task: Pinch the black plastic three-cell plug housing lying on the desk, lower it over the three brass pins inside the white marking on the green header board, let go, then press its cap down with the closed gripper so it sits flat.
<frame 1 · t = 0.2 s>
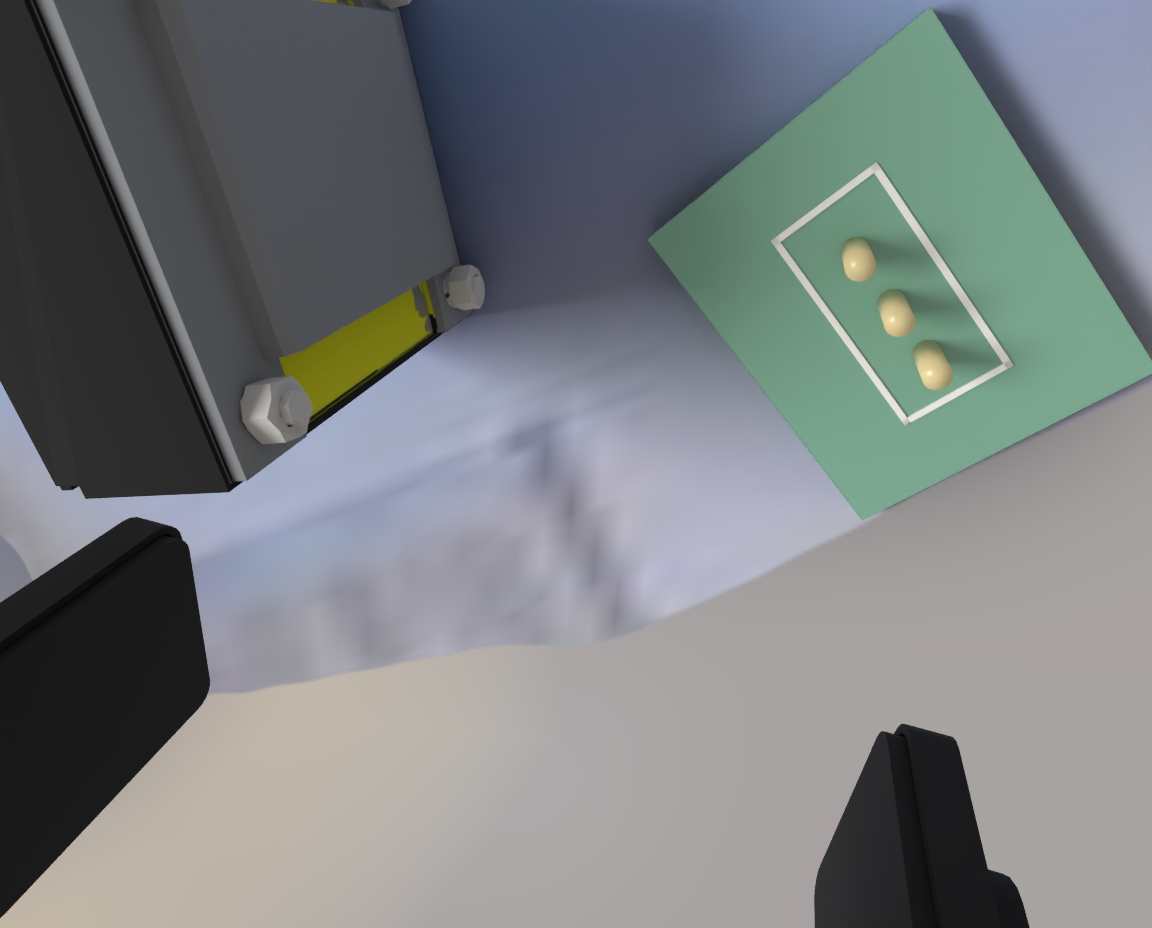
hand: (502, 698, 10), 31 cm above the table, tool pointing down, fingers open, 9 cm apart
electrical component: (373, 156, 39), on the table
header board: (887, 293, 35), on the table
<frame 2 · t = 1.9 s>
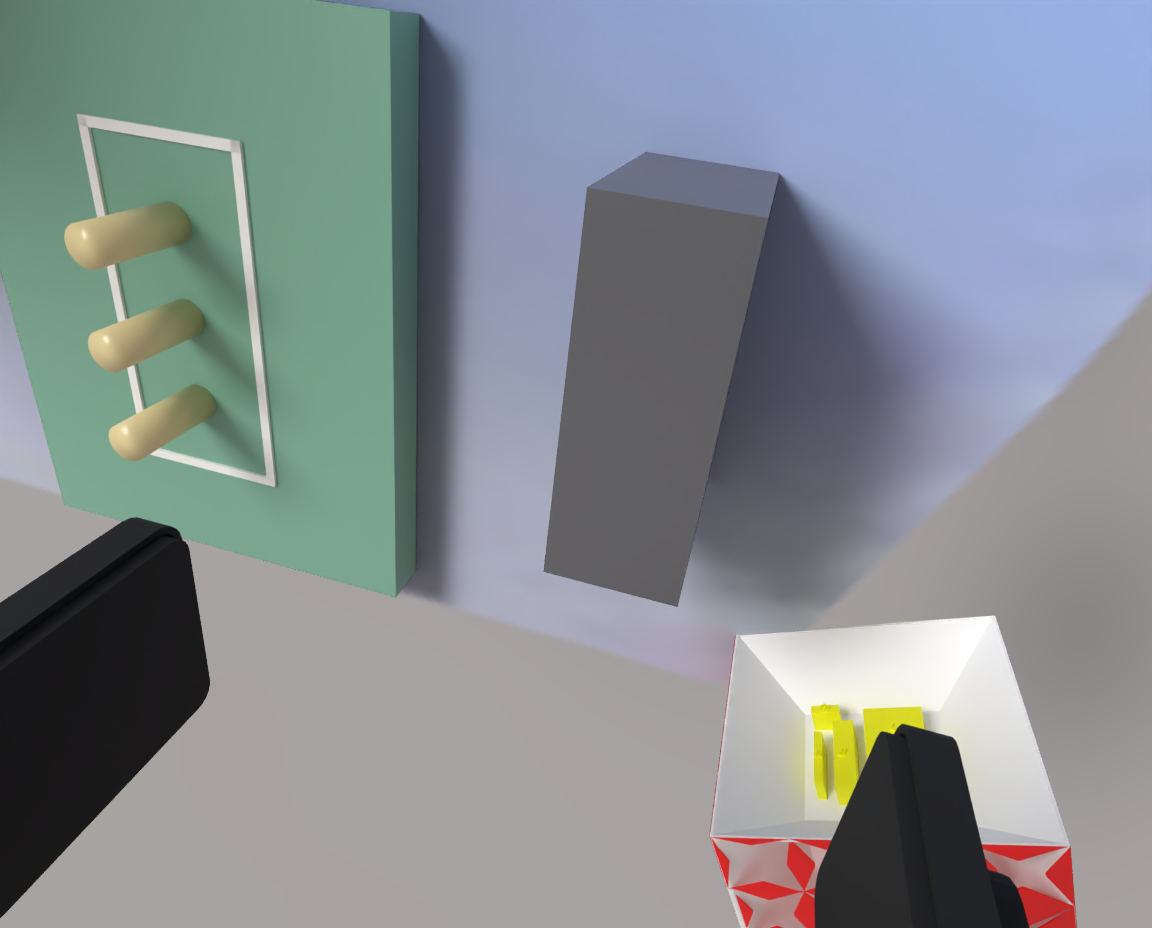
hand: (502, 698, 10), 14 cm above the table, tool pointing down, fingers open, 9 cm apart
plug housing: (678, 334, 21), on the table
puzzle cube: (874, 712, 26), on the table
header board: (221, 303, 25), on the table
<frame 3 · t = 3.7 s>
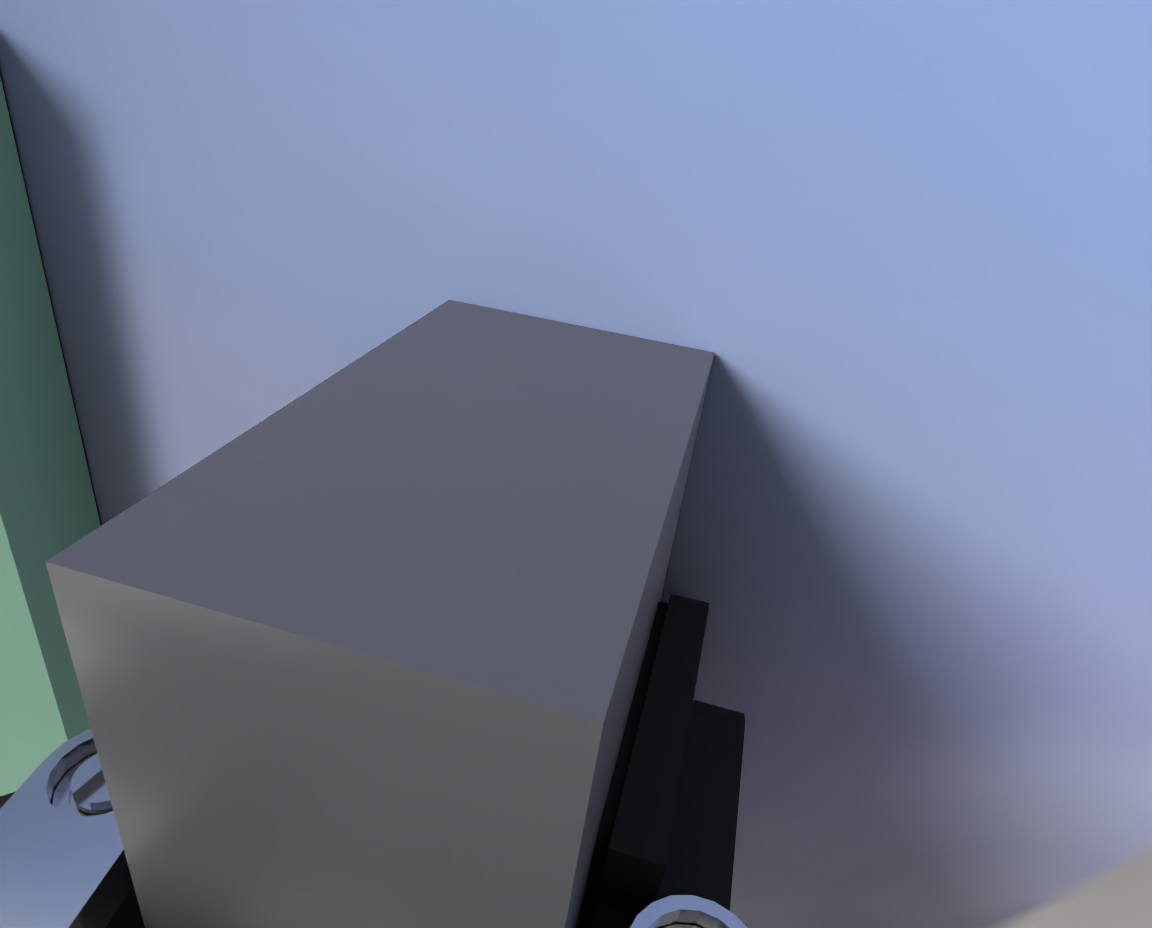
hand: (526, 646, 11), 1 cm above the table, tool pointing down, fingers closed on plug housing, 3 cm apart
plug housing: (542, 614, 12), on the table, touching gripper
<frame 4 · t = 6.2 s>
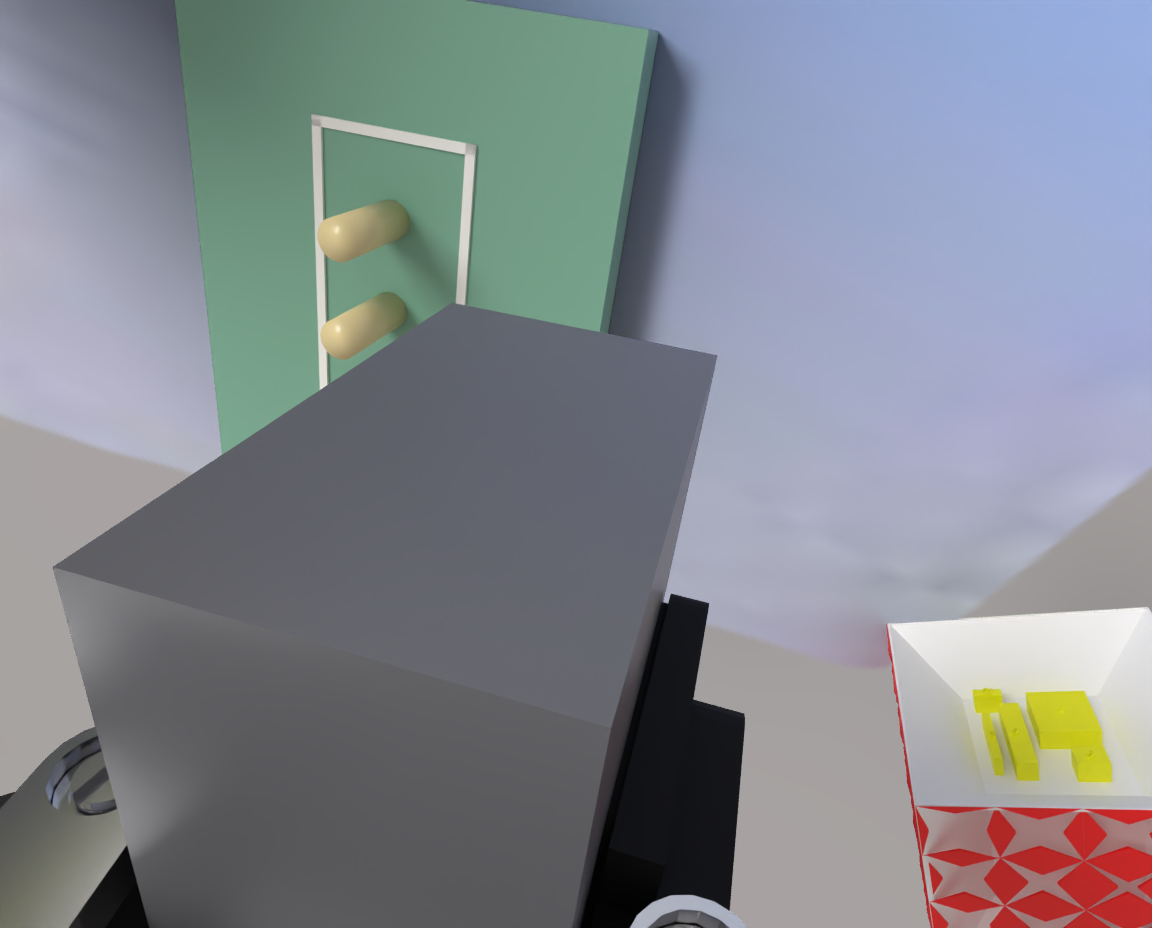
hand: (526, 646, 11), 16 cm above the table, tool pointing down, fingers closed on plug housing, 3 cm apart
plug housing: (544, 616, 12), point 15 cm above the table, touching gripper
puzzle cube: (1014, 698, 28), on the table
header board: (411, 297, 26), on the table
when the fingers open (3 cm above the table, at t = 8.9 s): plug housing stays where it is, resting on header board.
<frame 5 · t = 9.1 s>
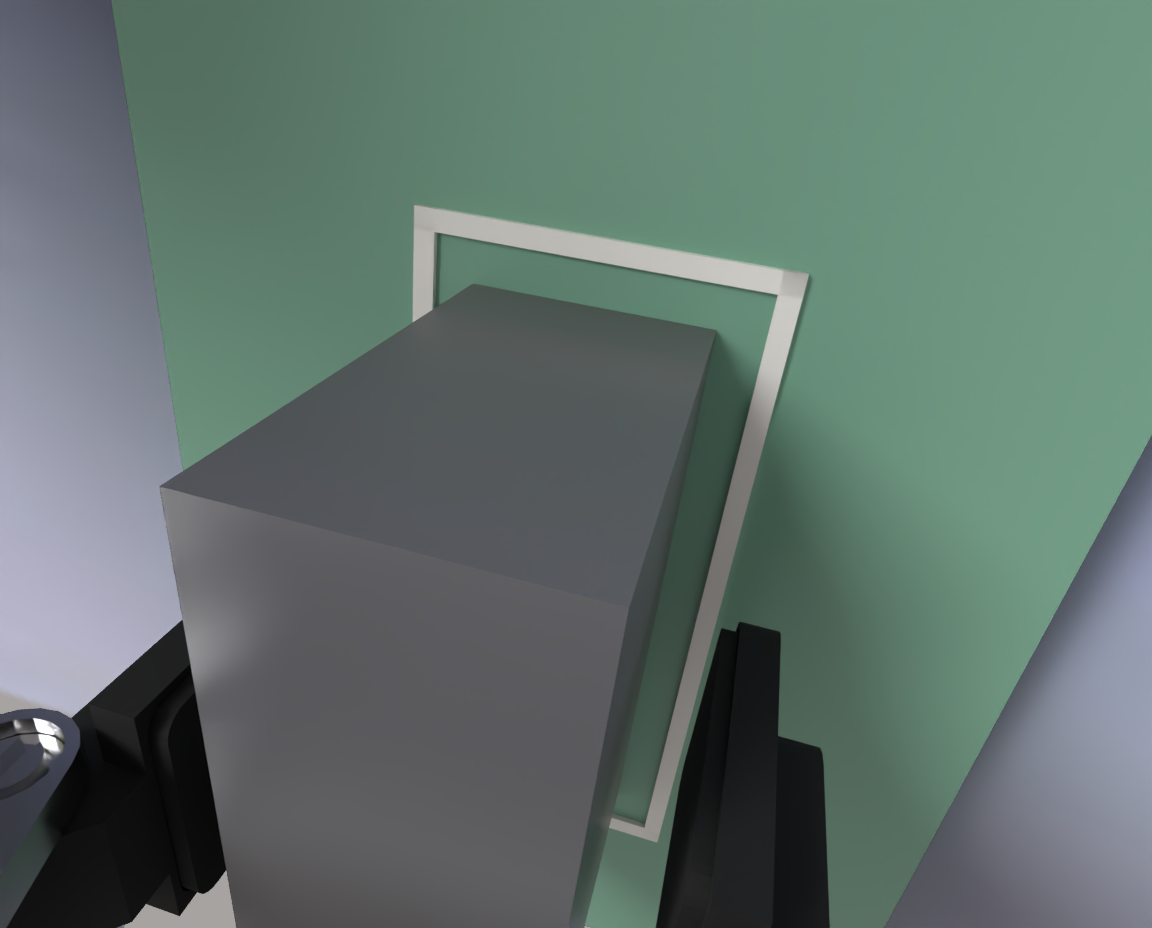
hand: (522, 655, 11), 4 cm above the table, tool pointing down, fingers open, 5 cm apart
plug housing: (556, 578, 12), point 2 cm above the table, touching header board
header board: (582, 527, 14), on the table
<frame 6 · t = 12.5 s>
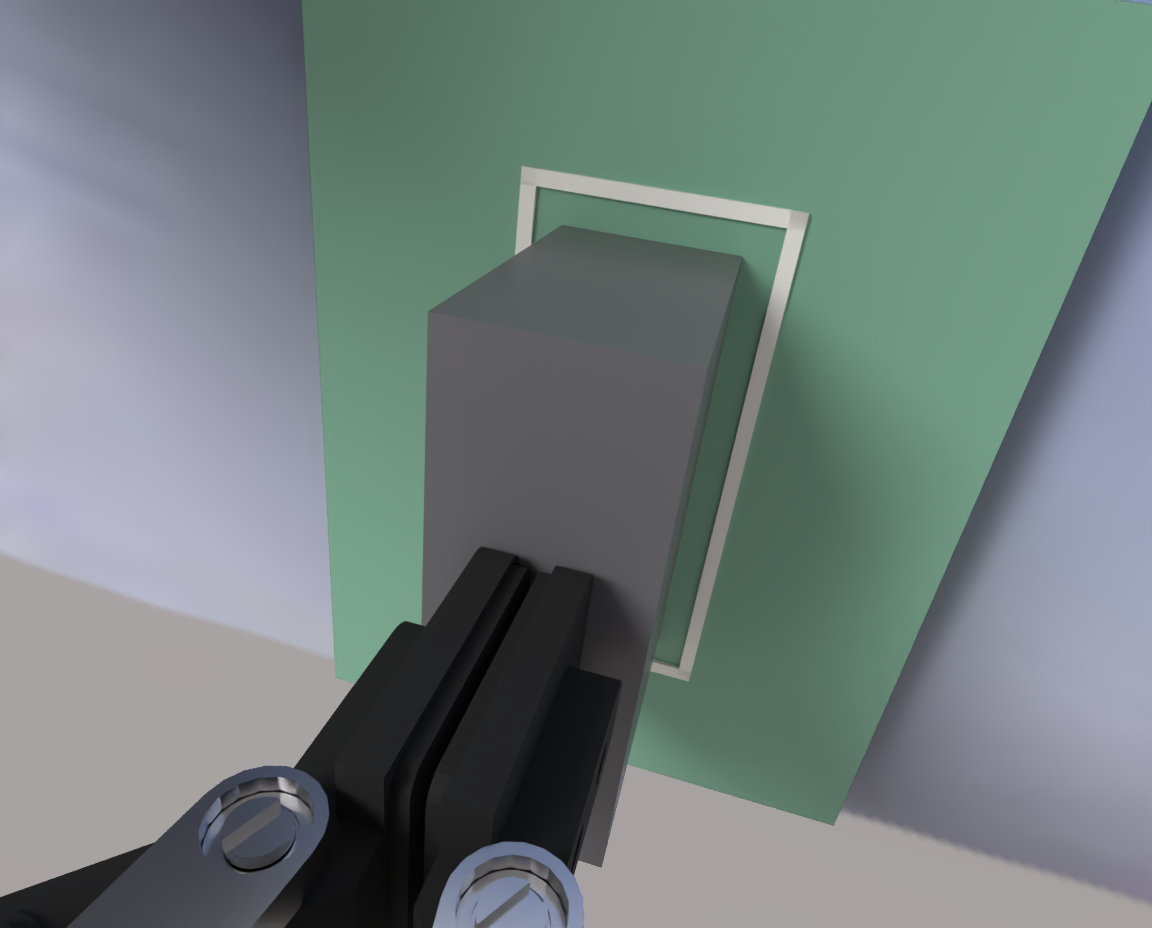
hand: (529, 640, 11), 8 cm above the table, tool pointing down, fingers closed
plug housing: (615, 457, 16), point 2 cm above the table, touching gripper, header board
header board: (631, 427, 18), on the table
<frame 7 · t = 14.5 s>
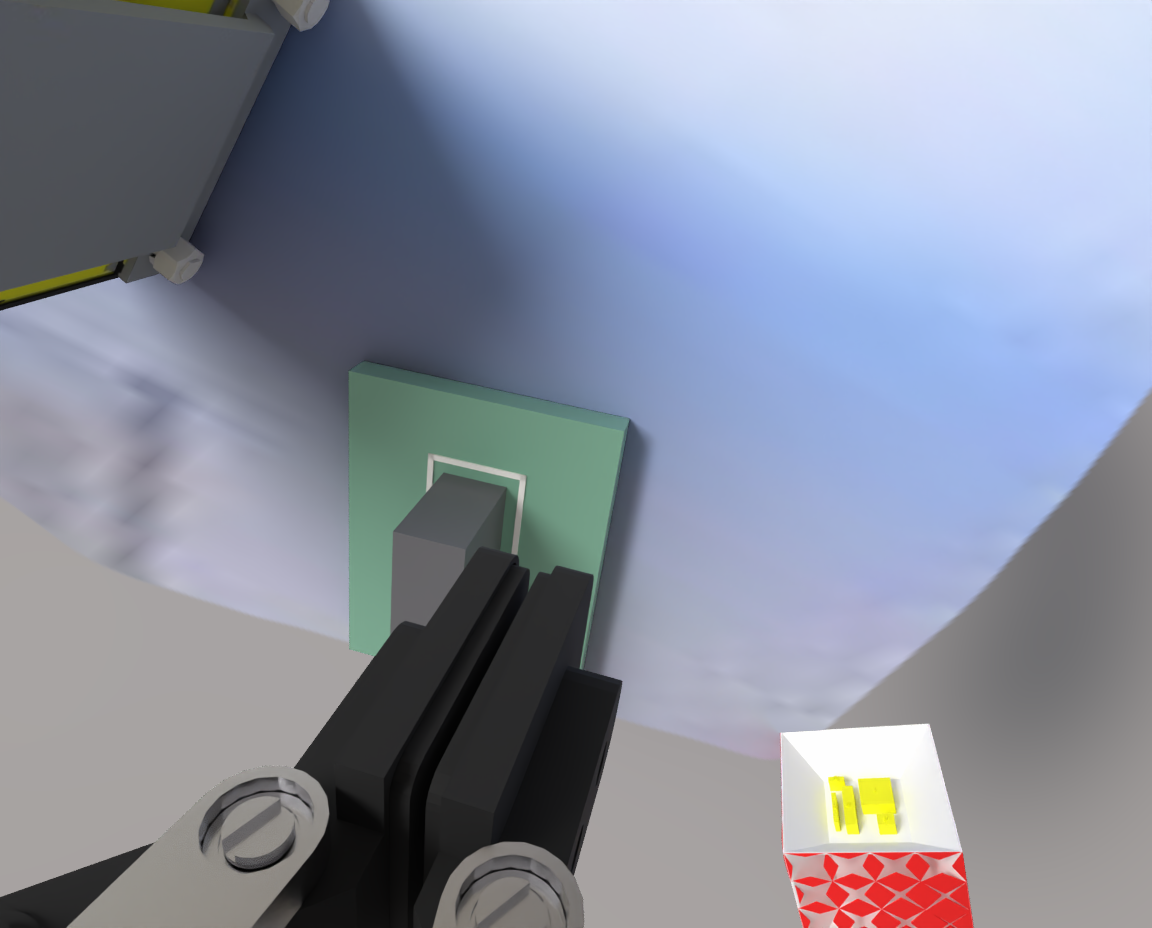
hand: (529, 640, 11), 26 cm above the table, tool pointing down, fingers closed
plug housing: (468, 554, 41), point 2 cm above the table, touching header board
electrical component: (186, 74, 35), on the table
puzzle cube: (862, 777, 44), on the table
header board: (479, 538, 42), on the table
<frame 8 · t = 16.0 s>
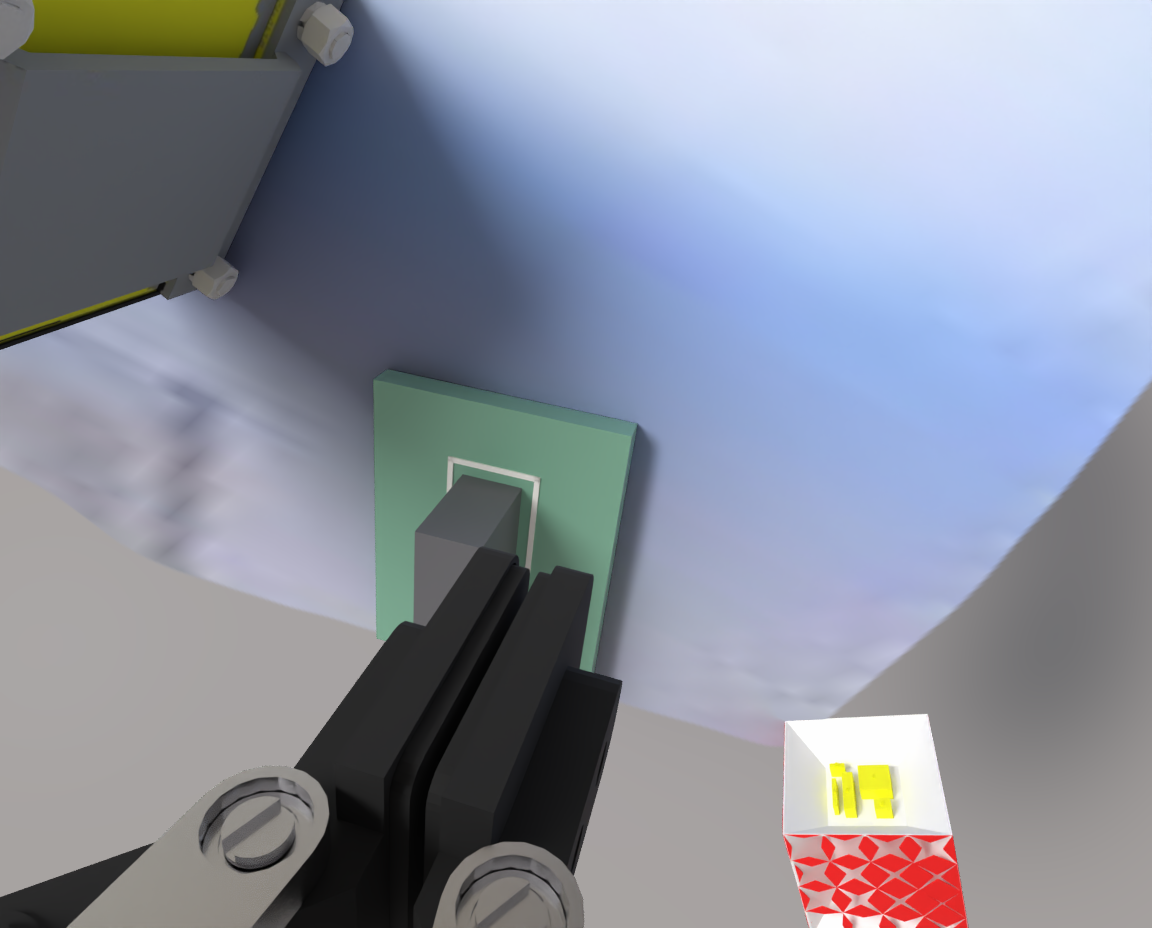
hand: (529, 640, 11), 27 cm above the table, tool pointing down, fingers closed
plug housing: (487, 550, 43), point 2 cm above the table, touching header board
electrical component: (220, 103, 37), on the table
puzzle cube: (864, 764, 46), on the table
header board: (497, 535, 45), on the table
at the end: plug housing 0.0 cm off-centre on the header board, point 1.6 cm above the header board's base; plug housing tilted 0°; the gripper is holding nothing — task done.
